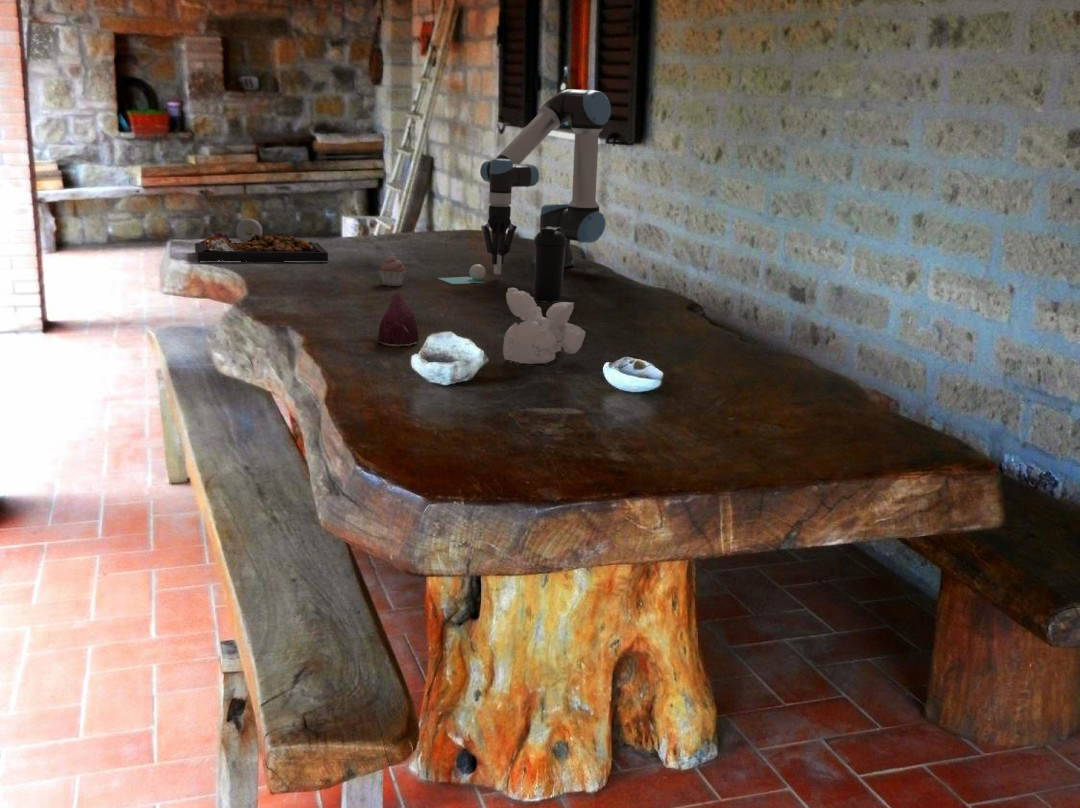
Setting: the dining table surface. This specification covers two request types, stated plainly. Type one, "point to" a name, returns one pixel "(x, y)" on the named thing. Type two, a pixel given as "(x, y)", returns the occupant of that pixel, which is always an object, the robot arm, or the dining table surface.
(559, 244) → the water bottle
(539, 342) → the grey lumpy lobed block
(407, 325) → the vegetable
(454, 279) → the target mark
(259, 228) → the donut
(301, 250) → the food platter
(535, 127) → the robot arm
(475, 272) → the ball
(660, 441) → the dining table surface
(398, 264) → the cupcake
